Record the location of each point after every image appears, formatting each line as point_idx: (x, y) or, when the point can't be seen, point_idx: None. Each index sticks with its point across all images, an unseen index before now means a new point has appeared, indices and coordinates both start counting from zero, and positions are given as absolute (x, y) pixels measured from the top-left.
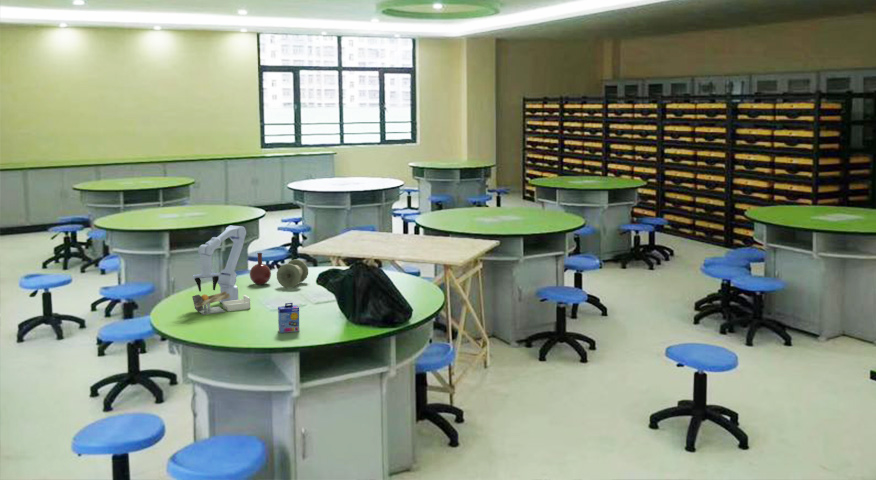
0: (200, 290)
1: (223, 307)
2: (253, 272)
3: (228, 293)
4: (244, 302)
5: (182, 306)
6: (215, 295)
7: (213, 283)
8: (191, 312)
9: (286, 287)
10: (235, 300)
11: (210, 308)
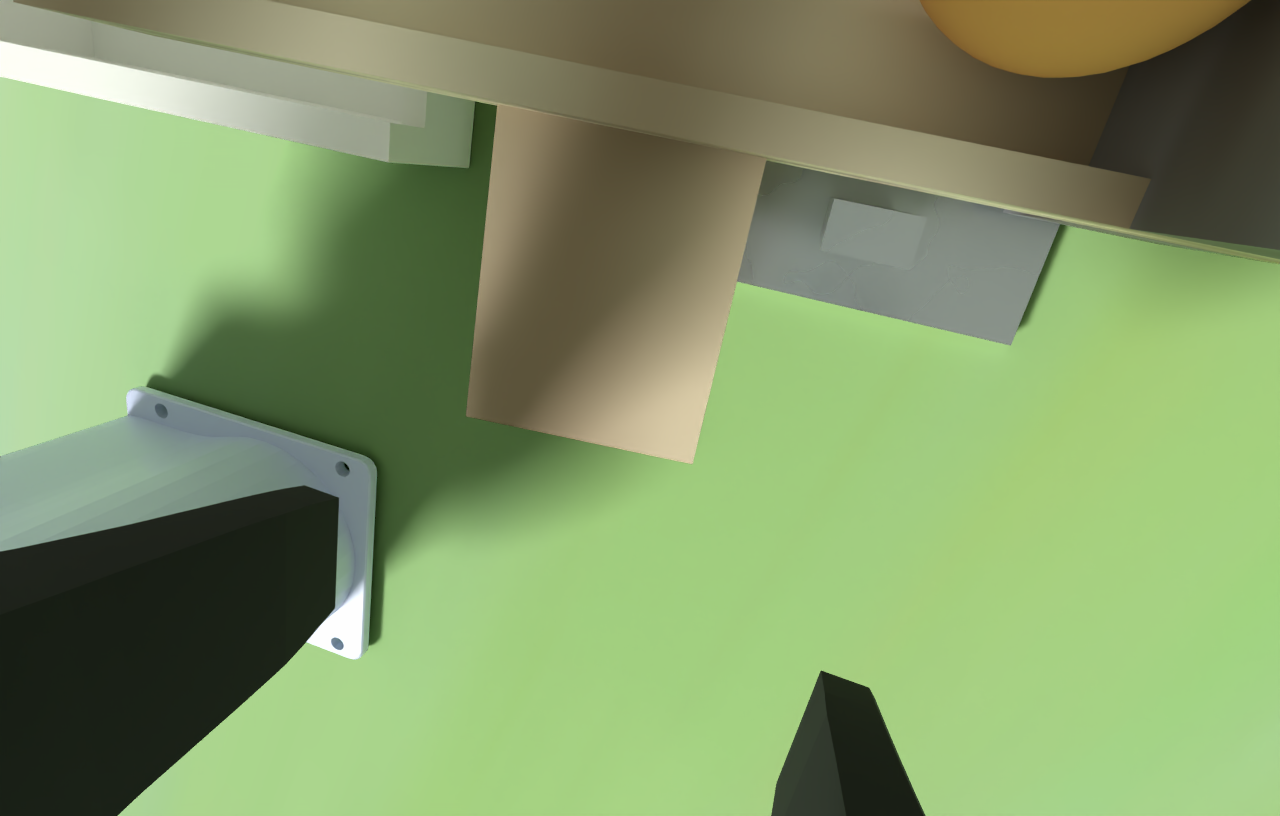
0: (848, 704)
1: (466, 130)
2: None
3: (118, 509)
4: (37, 16)
5: (998, 811)
6: (487, 51)
7: (75, 755)
8: None
9: None
10: (130, 69)
11: None
